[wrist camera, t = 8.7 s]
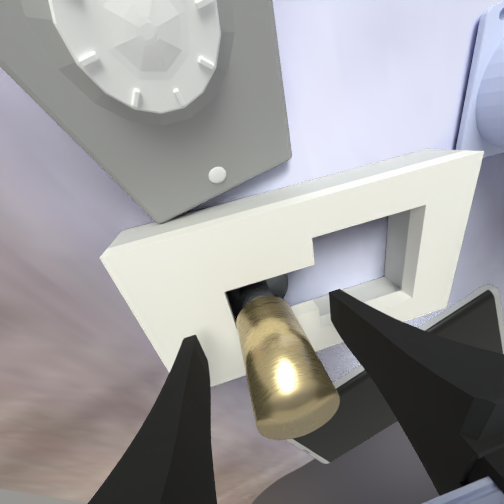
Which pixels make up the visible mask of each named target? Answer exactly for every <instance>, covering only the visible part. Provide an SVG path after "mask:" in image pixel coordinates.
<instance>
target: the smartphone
mask: <svg viewBox="0 0 504 504" xmlns="http://www.w3.org/2000/svg"><path fill="white" fill-rule="evenodd" d="M418 328H419V329H421V330H424V331H427V332H429V333H432V334H435V335H438V336H441V337H444V338H447V339H450V340H453V341H456V342H460V343H463V344H466V345H470V346H474V347H477V348H481V349H485V350H489V351H493V352H497V353H502V354H504V321H503V313H502V306H501V298H500V291H499V289H498V288H496V287H494V286H492V285H490V284H486V285H483V286H482V287H480V288H479V289H477V290H476V291H474V292H472V293H471V294H469V295H468V296H466V297H465V298H463V299H462V300H460V301H458V302H457V303H455V304H454V305H452V306H451V307H449V308H448V309H446V310H445V311H443V312H441V313H440V314H438V315H437V316H435V317H434V318H432V319H431V320H429V321H428V322H426V323H424V324H423V325H421V326H420V327H418ZM333 385H334V387H335V389H336V390H337V392H338V394H339V397H340V404H339V407H338V409H337V411H336V413H335V414H334V415H333V417H332V418H331V419H330V420H329V421H328V422H326V423H325V424H324V425H323V426H321V427H320V428H318V429H316V430H315V431H313V432H311V433H309V434H306V435H304V436H301V437H297V438H293V439H287V440H286V441H287V442H289V443H291V444H292V445H294V446H296V447H297V448H299V449H301V450H302V451H304V452H306V453H307V454H309V455H311V456H312V457H314V458H315V459H317V460H319V461H320V462H322V463H325V464H327V463H330V462H332V461H333V460H335V459H337V458H338V457H340V456H341V455H343V454H345V453H346V452H348V451H350V450H351V449H353V448H354V447H356V446H358V445H359V444H361V443H363V442H364V441H366V440H367V439H369V438H370V437H372V436H374V435H375V434H377V433H379V432H380V431H382V430H383V429H385V428H387V427H388V426H390V425H392V424H393V423H395V422H397V421H398V420H397V418H396V417H395V415H394V413H393V412H392V410H391V408H390V407H389V405H388V403H387V402H386V400H385V399H384V397H383V395H382V394H381V392H380V391H379V389H378V387H377V386H376V384H375V383H374V381H373V380H372V379H371V377H370V376H369V374H368V373H367V372H366V370H365V369H364V368H363V366H362V365H359V366H358V367H356V368H355V369H353V370H352V371H350V372H349V373H347V374H346V375H344V376H342V377H341V378H339V379H338V380H336V381H335V382H333Z"/></svg>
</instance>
